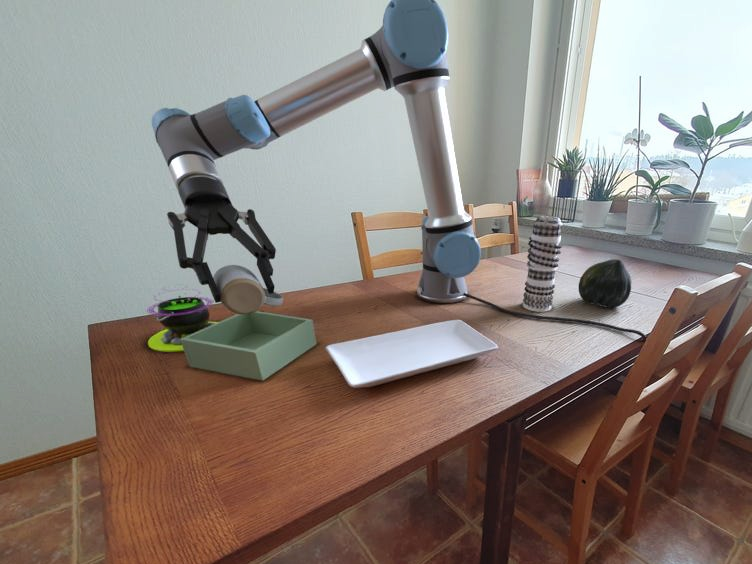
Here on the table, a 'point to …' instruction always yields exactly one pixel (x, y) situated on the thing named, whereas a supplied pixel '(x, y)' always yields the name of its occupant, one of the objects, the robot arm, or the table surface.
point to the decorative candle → (542, 263)
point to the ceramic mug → (243, 290)
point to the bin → (250, 344)
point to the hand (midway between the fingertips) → (245, 294)
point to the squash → (605, 284)
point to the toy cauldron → (179, 321)
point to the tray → (408, 352)
